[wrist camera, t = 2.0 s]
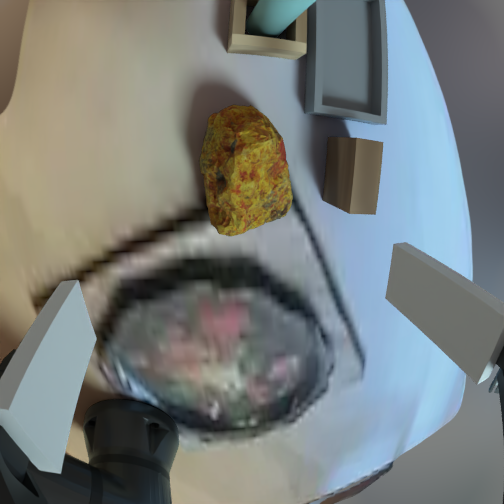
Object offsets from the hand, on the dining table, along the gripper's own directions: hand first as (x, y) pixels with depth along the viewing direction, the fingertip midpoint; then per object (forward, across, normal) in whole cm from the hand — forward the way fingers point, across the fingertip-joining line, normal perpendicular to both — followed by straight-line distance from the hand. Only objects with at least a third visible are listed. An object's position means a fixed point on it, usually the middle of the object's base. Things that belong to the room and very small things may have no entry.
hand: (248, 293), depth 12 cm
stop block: (+20, +14, +2) cm, 25 cm away
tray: (+20, +15, +16) cm, 30 cm away
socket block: (+20, +6, +18) cm, 28 cm away
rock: (+20, +3, +3) cm, 21 cm away
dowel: (+20, +6, +18) cm, 28 cm away
